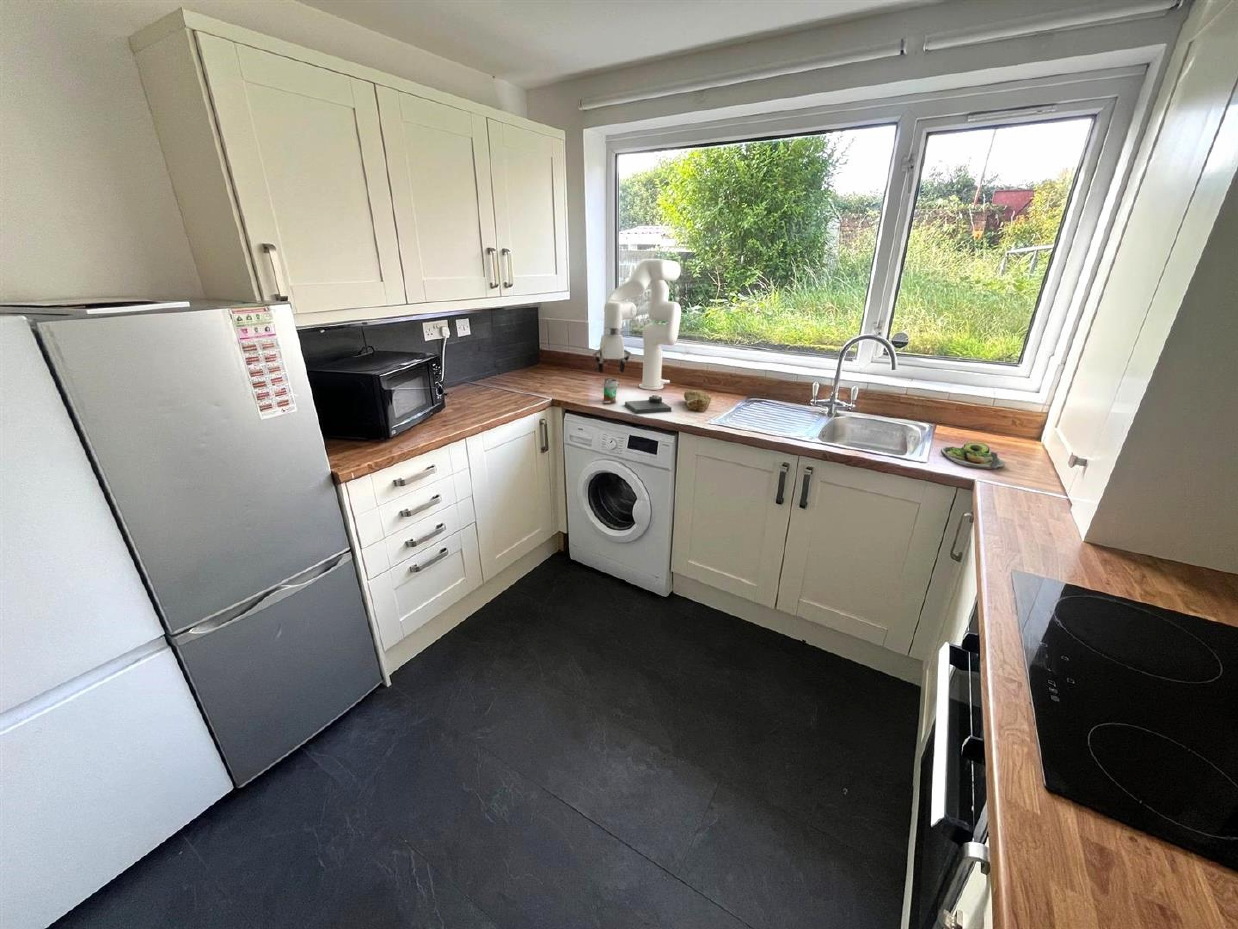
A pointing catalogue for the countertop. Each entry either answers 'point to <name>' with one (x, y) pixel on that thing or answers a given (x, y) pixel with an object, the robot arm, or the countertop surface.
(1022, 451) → the countertop surface
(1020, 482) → the countertop surface
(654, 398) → the scale button
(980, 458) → the salad plate
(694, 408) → the mossy rock
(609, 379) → the food container
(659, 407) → the scale
